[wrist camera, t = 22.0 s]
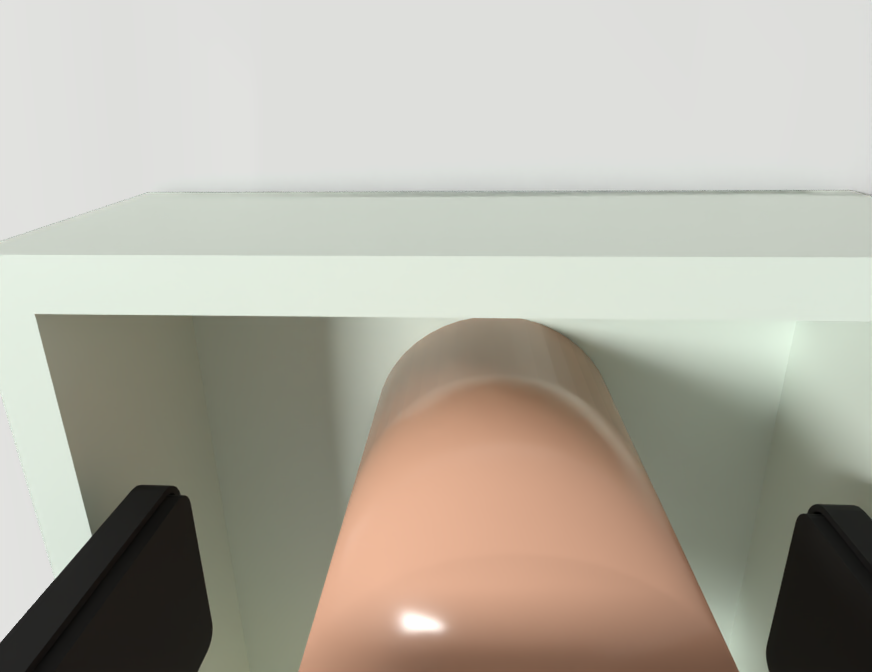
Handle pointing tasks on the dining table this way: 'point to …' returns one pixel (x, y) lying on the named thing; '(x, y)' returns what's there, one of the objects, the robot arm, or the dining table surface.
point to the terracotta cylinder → (506, 524)
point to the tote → (398, 331)
